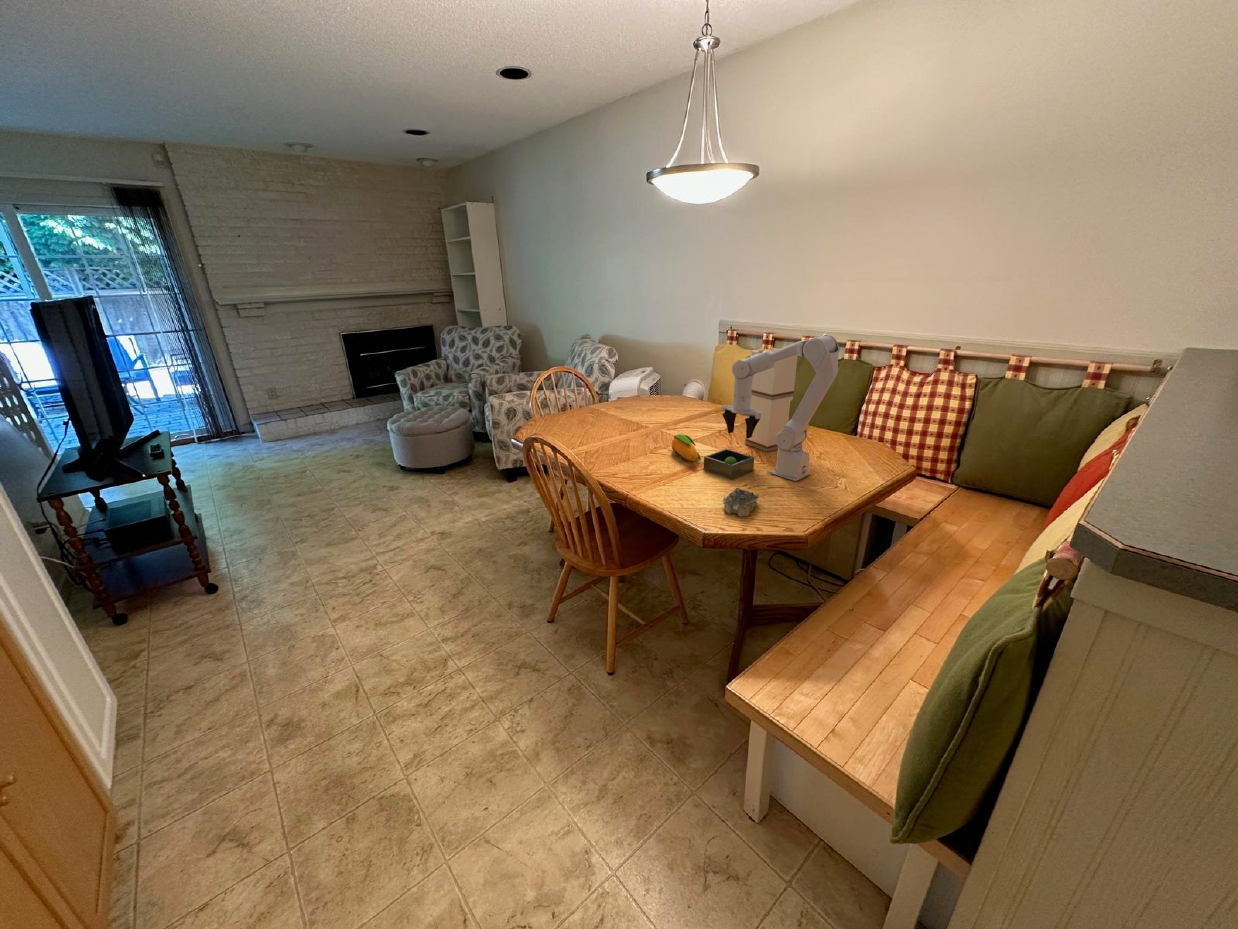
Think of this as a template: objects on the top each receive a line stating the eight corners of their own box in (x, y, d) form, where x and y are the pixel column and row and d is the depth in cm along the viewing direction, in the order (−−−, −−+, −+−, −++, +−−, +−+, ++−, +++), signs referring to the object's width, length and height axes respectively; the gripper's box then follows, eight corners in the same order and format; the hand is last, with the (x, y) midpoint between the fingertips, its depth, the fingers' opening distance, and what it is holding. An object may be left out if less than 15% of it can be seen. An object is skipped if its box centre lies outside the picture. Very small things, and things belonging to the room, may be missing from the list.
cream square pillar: (787, 446, 179) (798, 351, 166) (766, 451, 174) (775, 354, 161) (765, 438, 188) (773, 348, 175) (744, 443, 183) (751, 350, 171)
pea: (736, 470, 159) (740, 459, 157) (729, 471, 156) (733, 461, 154) (727, 463, 161) (731, 453, 159) (720, 465, 159) (724, 455, 157)
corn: (685, 428, 177) (707, 445, 159) (686, 447, 180) (708, 466, 162) (667, 431, 176) (686, 448, 158) (668, 450, 179) (687, 470, 161)
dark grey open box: (753, 469, 158) (754, 457, 157) (731, 479, 152) (732, 465, 150) (725, 460, 167) (726, 448, 165) (703, 469, 160) (704, 456, 158)
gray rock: (745, 519, 127) (746, 505, 125) (719, 511, 131) (720, 498, 130) (760, 504, 135) (762, 490, 133) (735, 497, 139) (736, 484, 137)
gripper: (717, 394, 161) (715, 432, 166) (753, 401, 151) (750, 442, 155) (730, 391, 165) (728, 428, 170) (766, 398, 155) (763, 437, 160)
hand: (739, 435), depth 163 cm, fingers open, 7 cm apart
